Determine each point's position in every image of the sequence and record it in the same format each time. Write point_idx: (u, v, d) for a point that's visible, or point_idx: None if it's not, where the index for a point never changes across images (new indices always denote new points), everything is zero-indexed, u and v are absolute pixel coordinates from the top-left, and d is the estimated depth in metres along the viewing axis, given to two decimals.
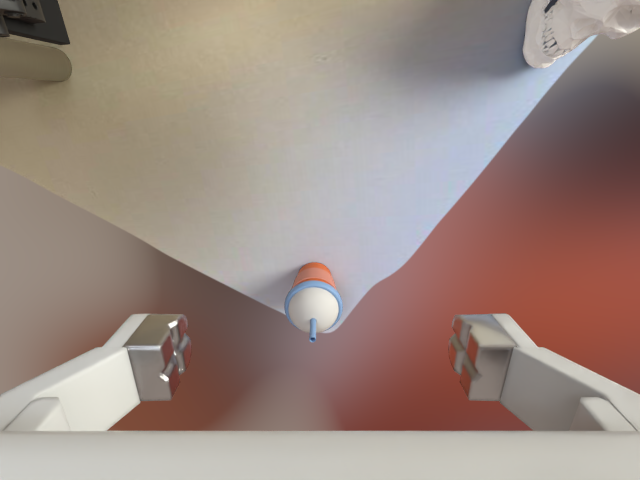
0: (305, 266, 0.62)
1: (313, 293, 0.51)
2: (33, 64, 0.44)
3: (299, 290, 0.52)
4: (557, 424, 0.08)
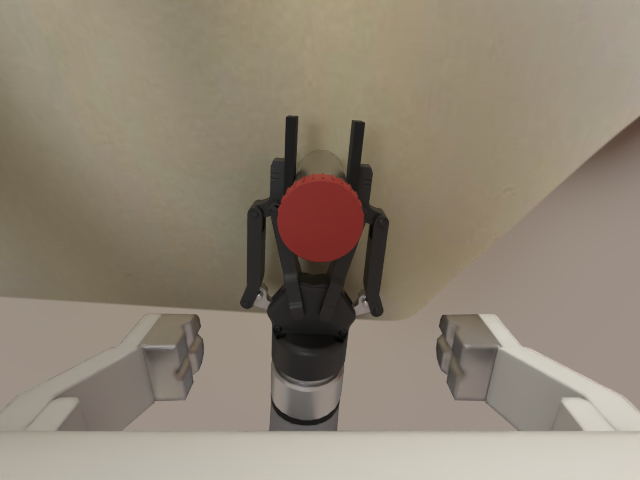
0: None
1: None
2: (331, 164, 0.27)
3: None
4: (541, 424, 0.08)
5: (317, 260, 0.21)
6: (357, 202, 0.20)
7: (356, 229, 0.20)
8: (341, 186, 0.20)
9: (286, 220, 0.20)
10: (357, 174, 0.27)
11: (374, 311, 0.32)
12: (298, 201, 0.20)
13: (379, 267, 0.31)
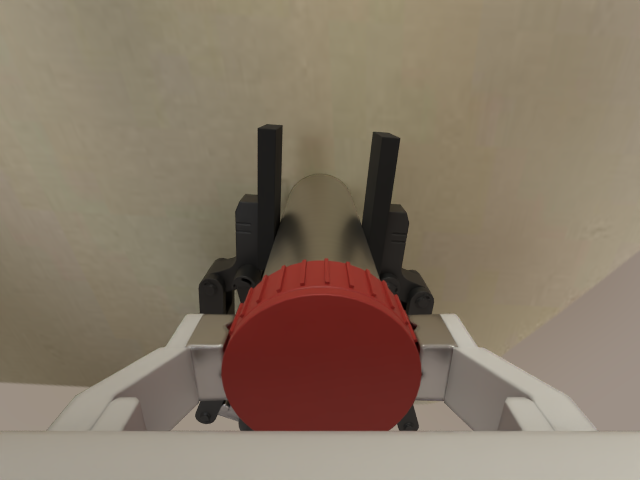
0: None
1: None
2: (340, 209, 0.16)
3: None
4: (492, 424, 0.08)
5: None
6: (409, 340, 0.08)
7: (403, 393, 0.09)
8: (372, 307, 0.08)
9: (242, 376, 0.09)
10: (384, 226, 0.16)
11: (404, 427, 0.21)
12: (268, 339, 0.08)
13: None
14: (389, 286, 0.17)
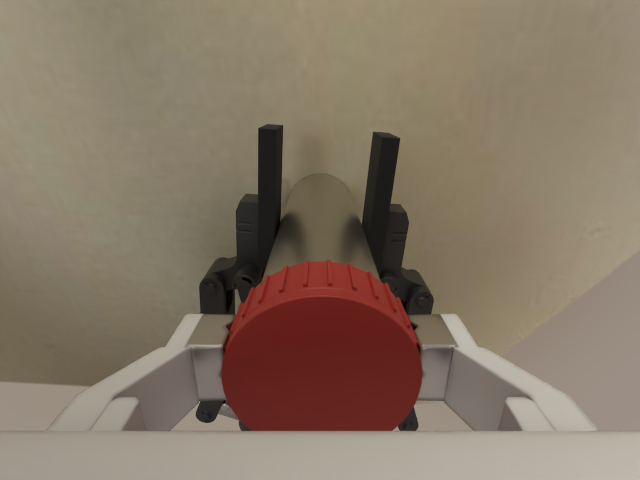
0: None
1: None
2: (340, 209, 0.16)
3: None
4: (493, 424, 0.08)
5: (417, 386, 0.09)
6: (264, 313, 0.08)
7: (335, 311, 0.08)
8: (229, 348, 0.08)
9: None
10: (384, 225, 0.16)
11: (404, 426, 0.21)
12: (274, 421, 0.09)
13: None
14: (389, 285, 0.17)
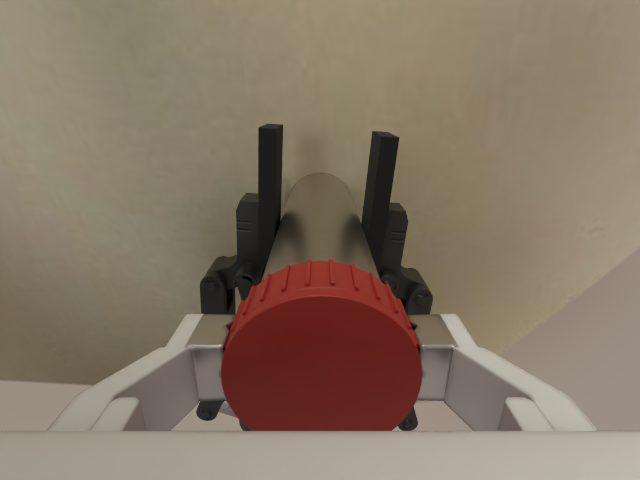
0: None
1: None
2: (339, 208, 0.16)
3: None
4: (492, 424, 0.08)
5: (322, 300, 0.08)
6: (245, 423, 0.09)
7: (235, 375, 0.09)
8: None
9: (400, 384, 0.09)
10: (383, 224, 0.16)
11: (404, 424, 0.21)
12: (372, 418, 0.09)
13: None
14: (388, 284, 0.17)
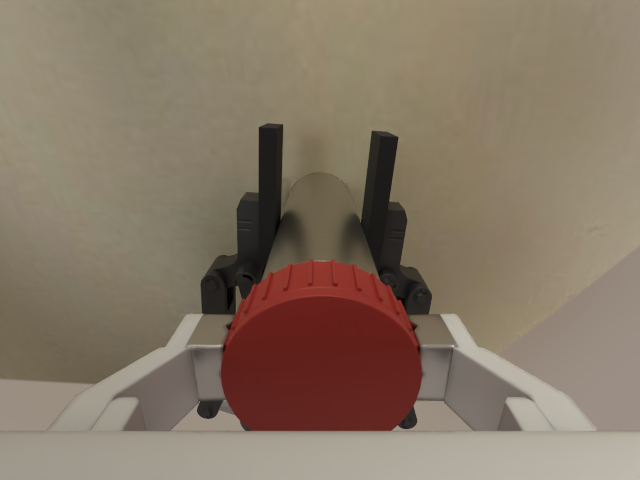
0: None
1: None
2: (339, 207, 0.16)
3: None
4: (493, 424, 0.08)
5: (225, 385, 0.09)
6: None
7: None
8: (409, 411, 0.09)
9: (319, 315, 0.08)
10: (382, 223, 0.16)
11: (403, 422, 0.21)
12: (371, 337, 0.08)
13: None
14: (388, 282, 0.17)
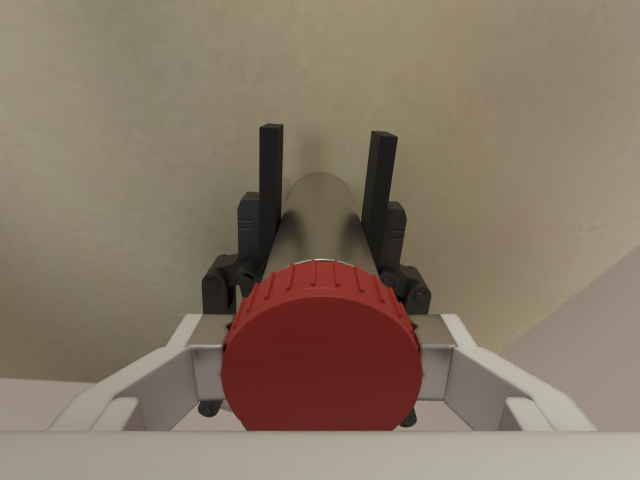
0: None
1: None
2: (339, 206, 0.16)
3: None
4: (493, 424, 0.08)
5: None
6: (403, 332, 0.08)
7: (406, 386, 0.09)
8: (360, 304, 0.08)
9: (242, 387, 0.09)
10: (382, 222, 0.16)
11: (403, 420, 0.21)
12: (261, 347, 0.08)
13: None
14: (387, 281, 0.17)
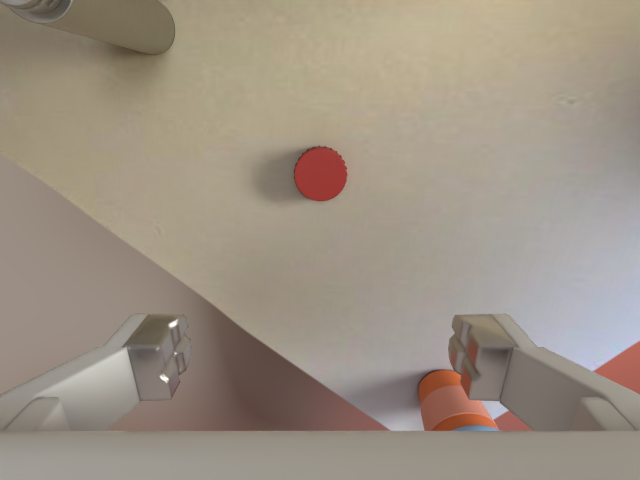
0: (438, 376, 0.43)
1: None
2: (132, 21, 0.24)
3: None
4: (557, 424, 0.08)
5: (345, 173, 0.34)
6: (303, 156, 0.33)
7: (320, 153, 0.33)
8: (296, 167, 0.33)
9: (322, 195, 0.34)
10: None
11: None
12: (309, 190, 0.34)
13: None
14: None
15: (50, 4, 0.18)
